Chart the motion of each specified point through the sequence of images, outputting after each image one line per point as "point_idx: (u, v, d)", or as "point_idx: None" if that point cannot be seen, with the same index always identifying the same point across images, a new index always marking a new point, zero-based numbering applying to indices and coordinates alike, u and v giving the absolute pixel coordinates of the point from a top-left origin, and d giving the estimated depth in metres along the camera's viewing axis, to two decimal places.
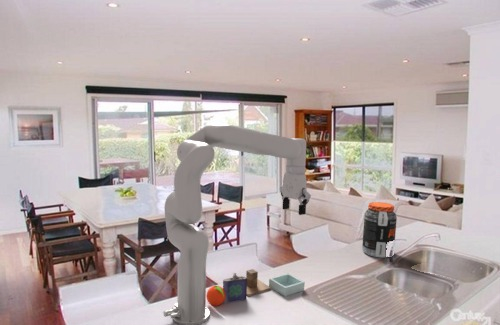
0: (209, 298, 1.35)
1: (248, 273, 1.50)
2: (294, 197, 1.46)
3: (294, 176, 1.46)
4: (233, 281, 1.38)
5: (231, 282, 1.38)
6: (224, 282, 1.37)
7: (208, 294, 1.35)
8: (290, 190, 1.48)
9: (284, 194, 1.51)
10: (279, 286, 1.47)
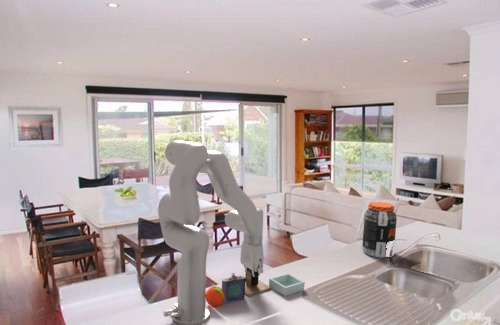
0: (208, 299, 1.34)
1: (248, 273, 1.50)
2: (251, 268, 1.46)
3: (250, 246, 1.46)
4: (232, 281, 1.38)
5: (230, 282, 1.38)
6: (223, 282, 1.37)
7: (207, 295, 1.35)
8: (247, 260, 1.48)
9: (242, 263, 1.51)
10: (279, 286, 1.47)
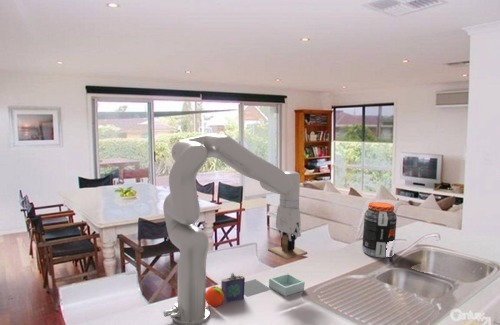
0: (208, 299, 1.34)
1: (284, 237, 1.48)
2: (288, 232, 1.44)
3: (287, 210, 1.44)
4: (231, 281, 1.38)
5: (229, 282, 1.38)
6: (223, 282, 1.37)
7: (207, 295, 1.34)
8: (284, 224, 1.46)
9: (278, 227, 1.49)
10: (279, 286, 1.47)
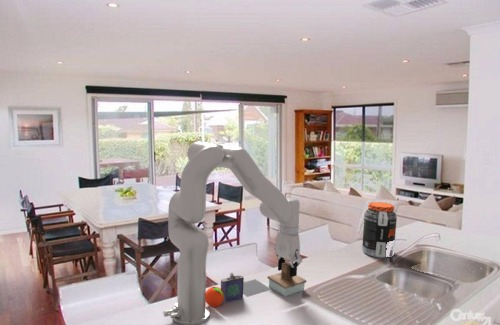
0: (208, 300, 1.33)
1: (283, 265, 1.49)
2: (287, 258, 1.45)
3: (287, 237, 1.45)
4: (231, 281, 1.38)
5: (229, 282, 1.38)
6: (222, 282, 1.37)
7: (207, 296, 1.34)
8: (283, 250, 1.47)
9: (277, 253, 1.50)
10: (279, 286, 1.47)
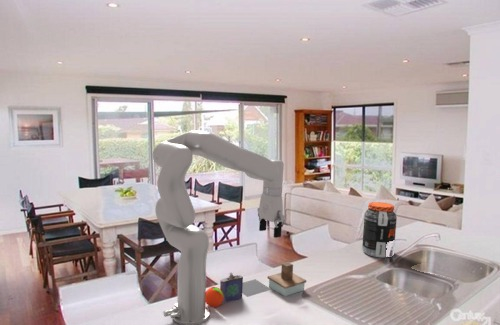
0: (208, 300, 1.33)
1: (283, 265, 1.49)
2: (269, 219, 1.44)
3: (270, 197, 1.44)
4: (230, 281, 1.38)
5: (228, 282, 1.38)
6: (222, 283, 1.37)
7: (207, 296, 1.34)
8: (266, 212, 1.46)
9: (260, 215, 1.49)
10: (279, 286, 1.47)
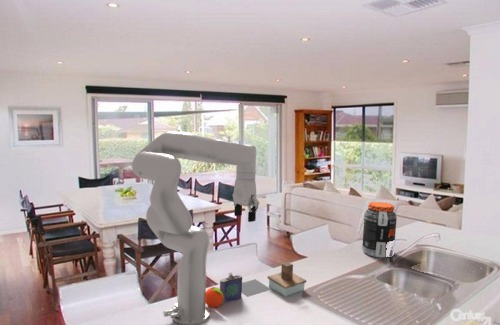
0: (209, 300, 1.33)
1: (283, 265, 1.49)
2: (243, 204, 1.45)
3: (243, 182, 1.45)
4: (230, 281, 1.38)
5: (228, 282, 1.38)
6: (221, 283, 1.37)
7: (207, 297, 1.33)
8: (240, 197, 1.47)
9: (235, 201, 1.50)
10: (279, 286, 1.47)
